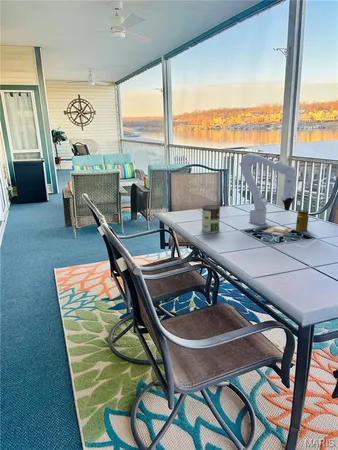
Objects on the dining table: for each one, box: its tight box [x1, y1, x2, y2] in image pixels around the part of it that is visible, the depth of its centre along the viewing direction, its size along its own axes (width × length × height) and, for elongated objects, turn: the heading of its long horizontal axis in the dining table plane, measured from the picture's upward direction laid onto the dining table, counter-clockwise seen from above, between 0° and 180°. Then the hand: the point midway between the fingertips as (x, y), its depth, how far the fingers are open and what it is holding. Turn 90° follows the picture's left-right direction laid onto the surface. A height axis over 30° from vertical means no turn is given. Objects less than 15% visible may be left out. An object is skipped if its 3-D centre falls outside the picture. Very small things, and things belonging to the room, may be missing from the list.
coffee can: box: [201, 204, 221, 234], centre depth 187 cm, size 10×10×14 cm
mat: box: [263, 225, 293, 236], centre depth 185 cm, size 12×14×1 cm
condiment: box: [295, 209, 309, 233], centre depth 183 cm, size 7×8×12 cm
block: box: [273, 225, 289, 233], centre depth 184 cm, size 6×2×6 cm
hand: (286, 210), depth 192 cm, fingers closed
